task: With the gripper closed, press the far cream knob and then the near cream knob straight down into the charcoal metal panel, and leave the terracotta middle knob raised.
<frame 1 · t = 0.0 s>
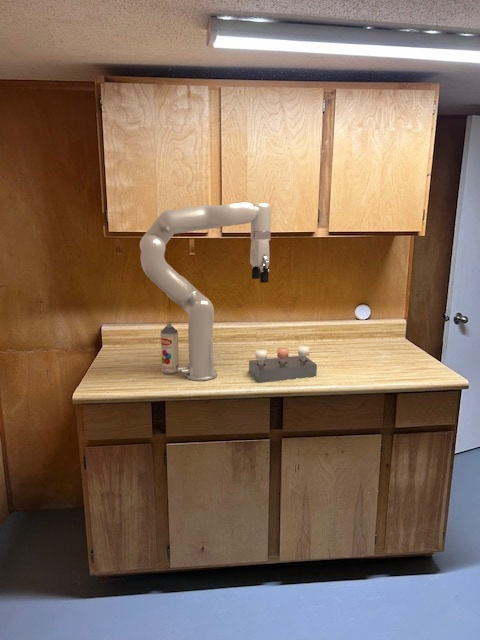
hand: (259, 280, 180), 37 cm above the worktop, fingers open, 9 cm apart
near knob: (261, 360, 180), point 6 cm above the worktop, slide at 0.0 cm
knob panel: (282, 374, 184), on the worktop
far knob: (303, 356, 185), point 6 cm above the worktop, slide at 0.0 cm
aerosol can: (170, 371, 187), on the worktop
middle knob: (282, 358, 182), point 7 cm above the worktop, slide at 0.0 cm
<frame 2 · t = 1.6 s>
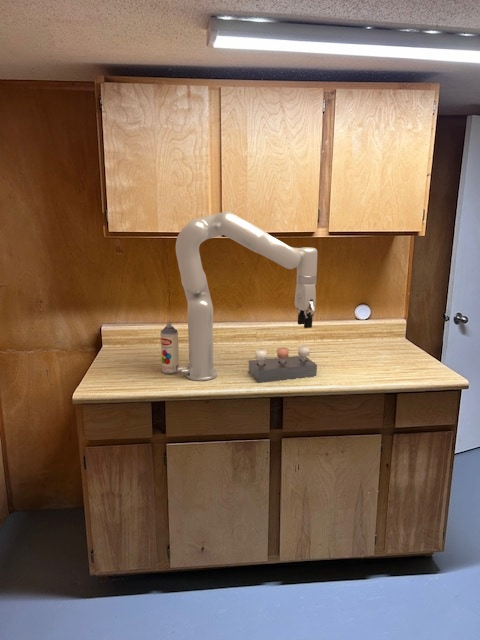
hand: (304, 325, 182), 19 cm above the worktop, fingers open, 5 cm apart
nothing on the worktop moved.
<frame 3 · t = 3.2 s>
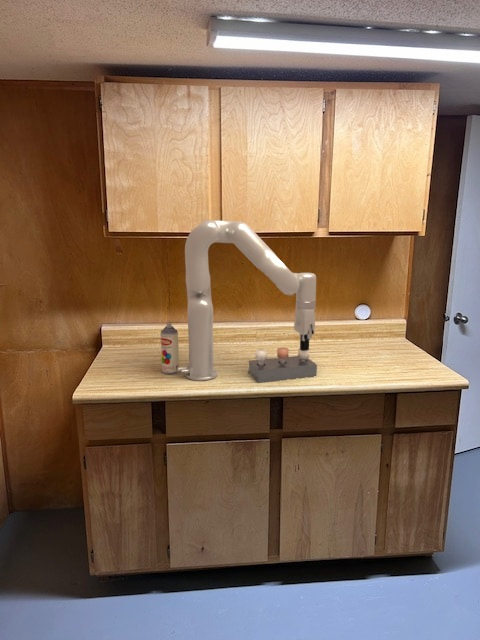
hand: (304, 349, 184), 9 cm above the worktop, fingers closed
far knob: (303, 359, 185), point 5 cm above the worktop, slide at 1.1 cm, touching gripper
everything else where it was.
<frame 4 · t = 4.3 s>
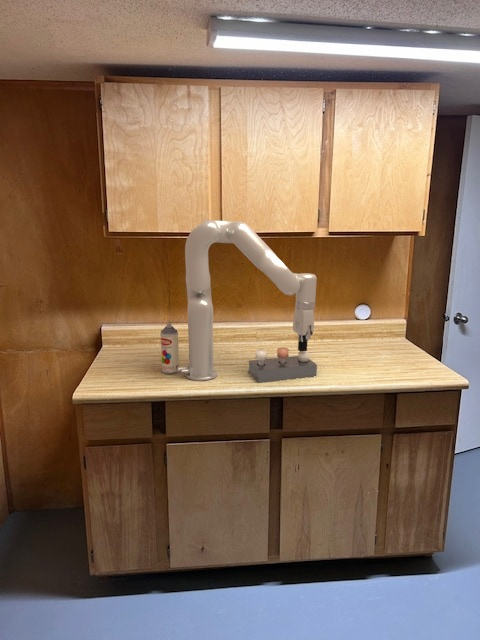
hand: (302, 350, 184), 9 cm above the worktop, fingers closed
far knob: (303, 362, 185), point 4 cm above the worktop, slide at 2.3 cm
everything else where it was.
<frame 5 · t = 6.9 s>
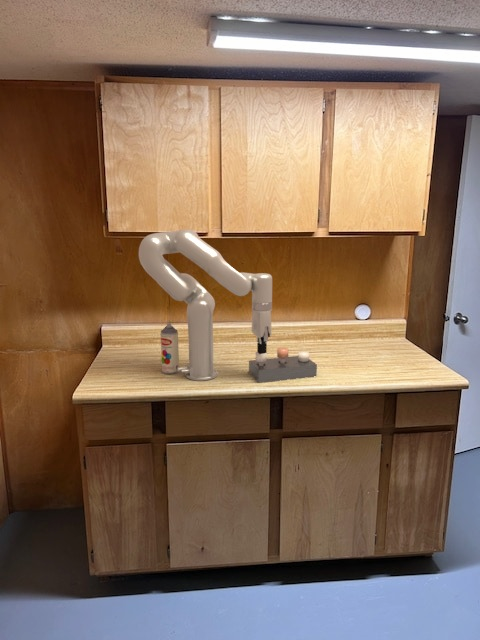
hand: (261, 352, 179), 10 cm above the worktop, fingers closed
near knob: (261, 362, 180), point 6 cm above the worktop, slide at 0.7 cm, touching gripper
everything else where it was.
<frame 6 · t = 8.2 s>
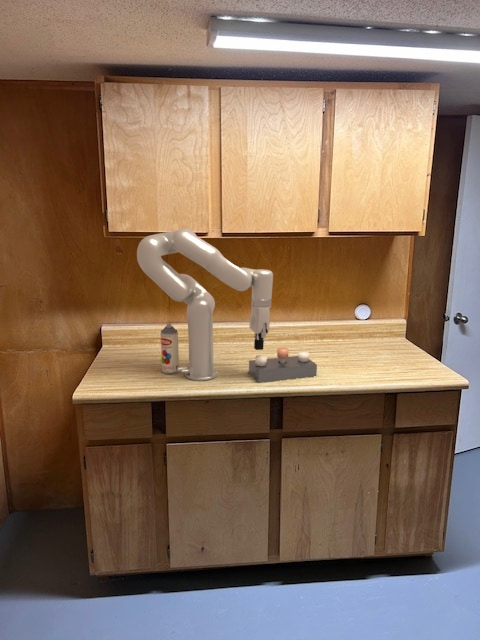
hand: (258, 349, 178), 11 cm above the worktop, fingers closed
near knob: (261, 366, 180), point 4 cm above the worktop, slide at 2.3 cm
everything else where it was.
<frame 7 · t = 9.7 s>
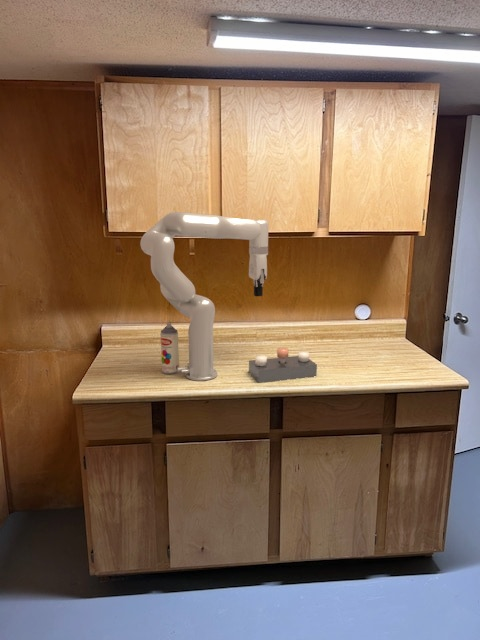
hand: (258, 295, 190), 29 cm above the worktop, fingers closed
nothing on the worktop moved.
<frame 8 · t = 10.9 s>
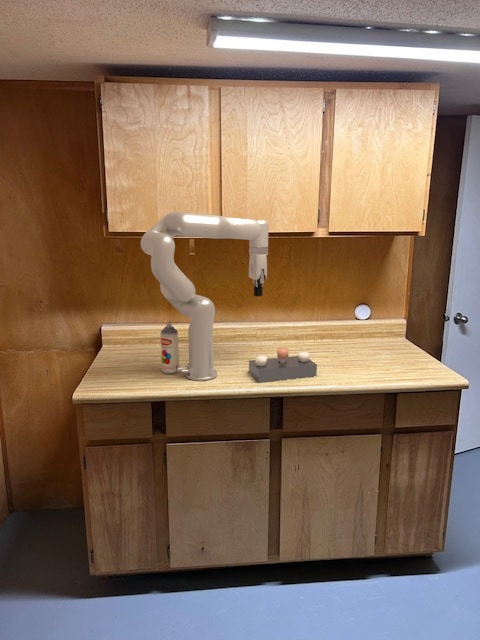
hand: (258, 295, 190), 29 cm above the worktop, fingers closed
nothing on the worktop moved.
at the end: far knob slide at 2.3 cm; near knob slide at 2.3 cm; middle knob slide at 0.0 cm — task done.
